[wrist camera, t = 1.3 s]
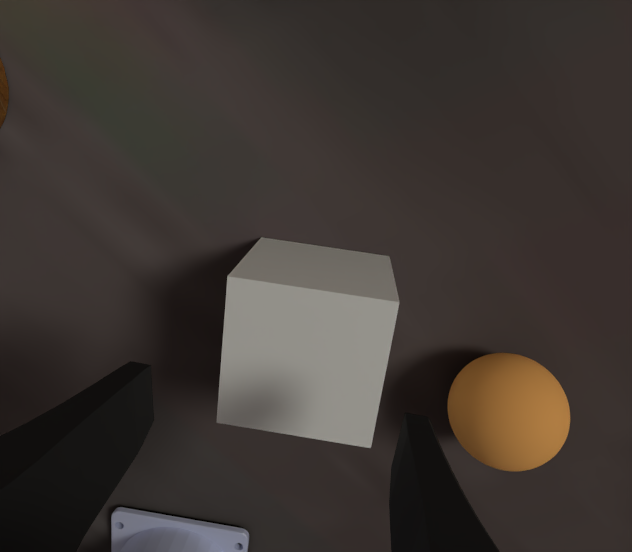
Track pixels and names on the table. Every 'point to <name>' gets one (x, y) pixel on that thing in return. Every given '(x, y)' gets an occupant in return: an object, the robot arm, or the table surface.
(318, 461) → the table surface
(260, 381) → the pale grey cube
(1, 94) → the disposable coffee cup
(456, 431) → the ball
